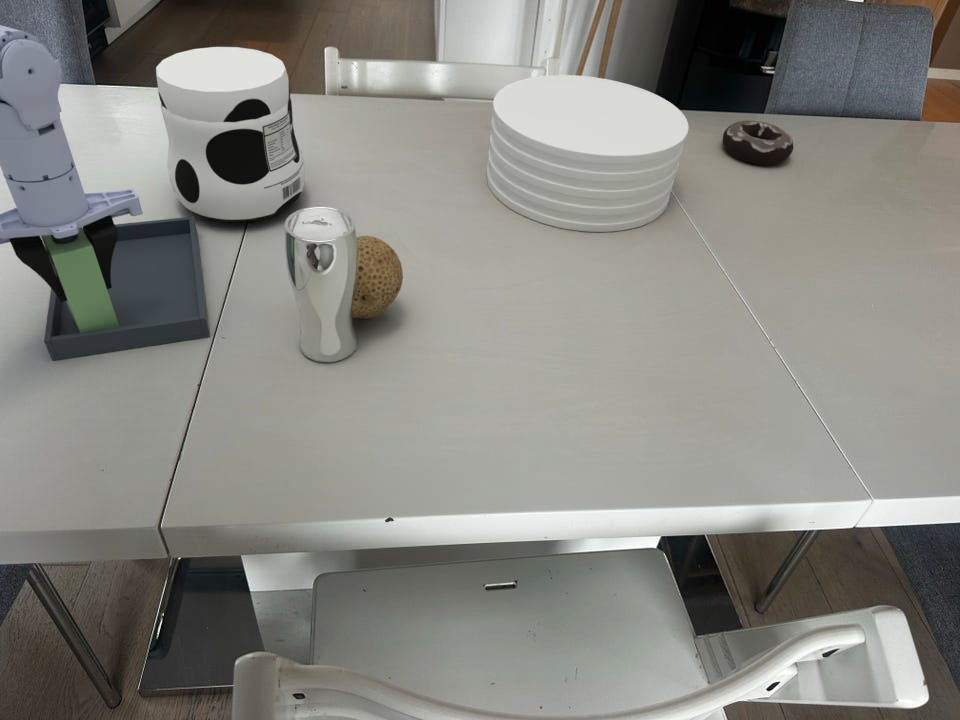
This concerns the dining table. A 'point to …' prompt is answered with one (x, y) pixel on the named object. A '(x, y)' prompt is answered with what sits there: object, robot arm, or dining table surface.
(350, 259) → the beer glass
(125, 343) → the dark grey tray
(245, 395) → the dining table surface
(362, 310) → the natural sponge
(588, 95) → the plate stack
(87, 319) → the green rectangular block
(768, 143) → the donut
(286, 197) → the milk container
